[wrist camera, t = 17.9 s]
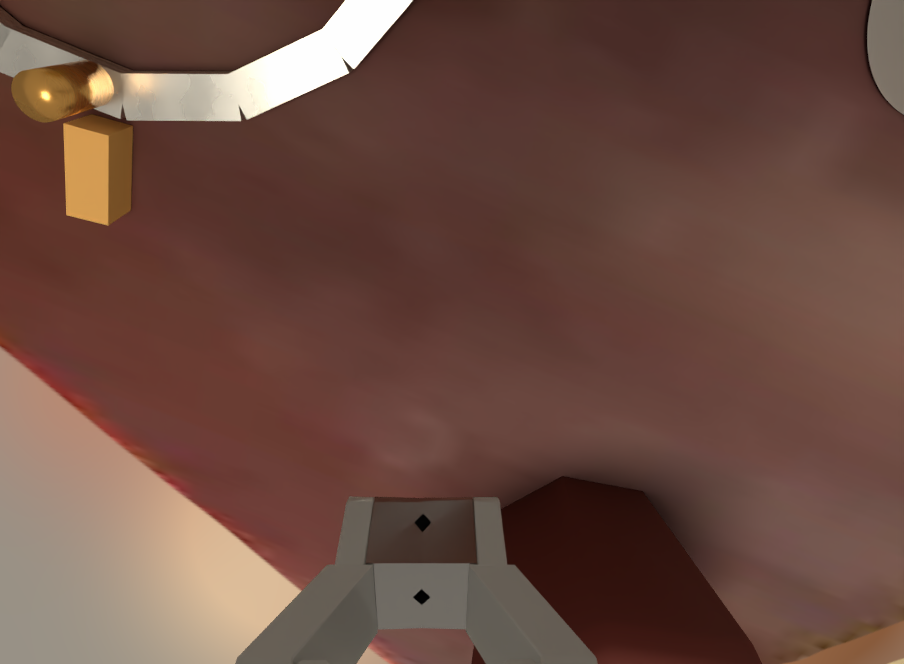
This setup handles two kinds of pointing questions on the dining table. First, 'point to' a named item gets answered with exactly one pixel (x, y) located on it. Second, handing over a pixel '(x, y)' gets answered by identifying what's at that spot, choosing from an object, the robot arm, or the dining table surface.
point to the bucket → (619, 577)
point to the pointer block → (98, 168)
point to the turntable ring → (186, 72)
